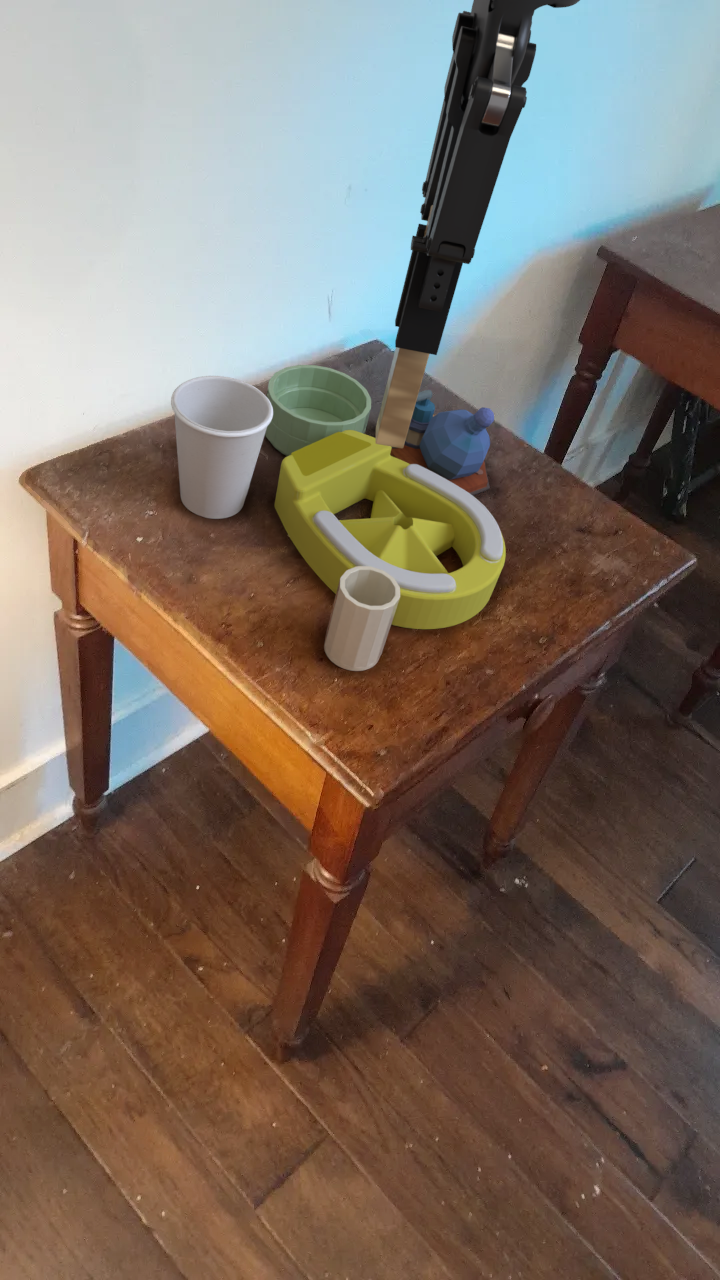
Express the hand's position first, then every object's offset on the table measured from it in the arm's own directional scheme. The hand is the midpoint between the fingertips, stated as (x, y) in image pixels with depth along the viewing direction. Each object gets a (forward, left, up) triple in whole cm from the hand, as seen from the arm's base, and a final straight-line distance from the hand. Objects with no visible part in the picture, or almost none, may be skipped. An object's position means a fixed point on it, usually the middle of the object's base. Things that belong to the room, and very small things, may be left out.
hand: (415, 337), depth 61 cm
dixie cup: (-12, +11, -25) cm, 30 cm away
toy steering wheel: (+4, +8, -25) cm, 26 cm away
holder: (+1, -5, -25) cm, 25 cm away
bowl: (-4, +23, -25) cm, 34 cm away
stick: (0, 0, -8) cm, 8 cm away
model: (+9, +22, -25) cm, 34 cm away
